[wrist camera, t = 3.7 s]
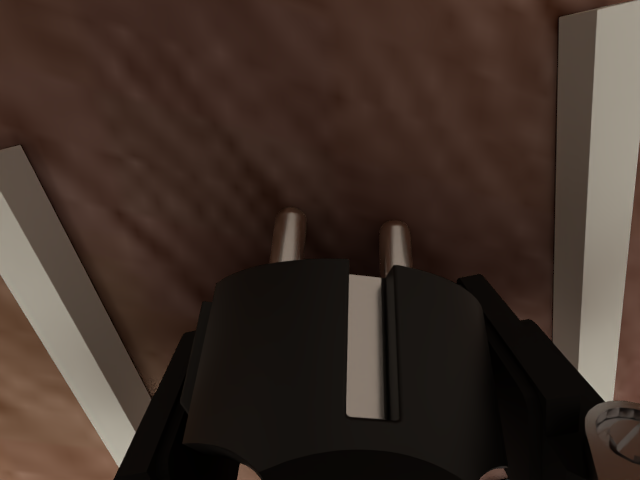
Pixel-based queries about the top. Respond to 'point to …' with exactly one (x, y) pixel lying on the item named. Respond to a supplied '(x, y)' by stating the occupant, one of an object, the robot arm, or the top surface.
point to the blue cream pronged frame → (569, 251)
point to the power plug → (343, 369)
